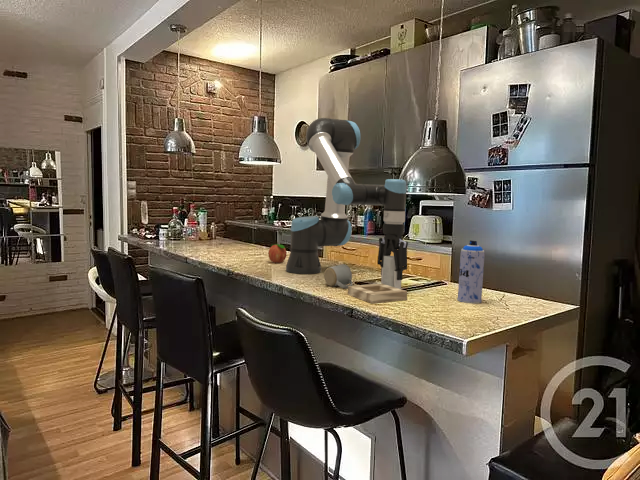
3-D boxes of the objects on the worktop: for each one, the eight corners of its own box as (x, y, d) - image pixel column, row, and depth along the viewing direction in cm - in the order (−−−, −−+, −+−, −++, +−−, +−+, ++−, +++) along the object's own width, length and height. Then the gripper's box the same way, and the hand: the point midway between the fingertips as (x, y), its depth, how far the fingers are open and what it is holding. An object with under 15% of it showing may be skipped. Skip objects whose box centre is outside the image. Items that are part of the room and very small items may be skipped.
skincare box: (399, 291, 168) (401, 257, 166) (388, 291, 166) (390, 258, 165) (392, 287, 173) (393, 255, 172) (381, 288, 172) (383, 255, 171)
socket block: (347, 294, 160) (348, 286, 159) (381, 291, 167) (381, 283, 166) (371, 303, 148) (372, 294, 147) (406, 299, 154) (407, 291, 154)
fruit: (279, 260, 230) (279, 240, 229) (290, 263, 223) (291, 242, 222) (264, 262, 225) (264, 241, 224) (275, 264, 218) (276, 243, 217)
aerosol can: (452, 298, 158) (455, 239, 156) (470, 297, 161) (474, 239, 159) (468, 304, 151) (472, 242, 149) (487, 302, 154) (491, 241, 152)
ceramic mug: (321, 284, 175) (322, 264, 174) (338, 282, 180) (339, 262, 179) (341, 290, 167) (342, 269, 166) (357, 288, 172) (358, 267, 171)
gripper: (369, 221, 174) (366, 282, 176) (403, 225, 157) (399, 293, 159) (385, 221, 178) (382, 281, 180) (420, 225, 161) (417, 291, 163)
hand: (390, 286), depth 170 cm, fingers closed on skincare box, 7 cm apart
